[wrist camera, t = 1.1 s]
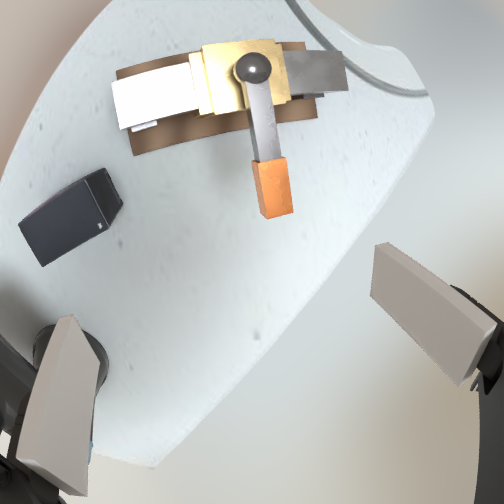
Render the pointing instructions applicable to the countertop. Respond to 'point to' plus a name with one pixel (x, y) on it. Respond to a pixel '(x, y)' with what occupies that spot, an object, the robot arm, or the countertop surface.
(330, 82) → the valve
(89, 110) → the countertop surface
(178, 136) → the base board
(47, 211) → the small box
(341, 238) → the countertop surface
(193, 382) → the countertop surface
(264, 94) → the valve lever
